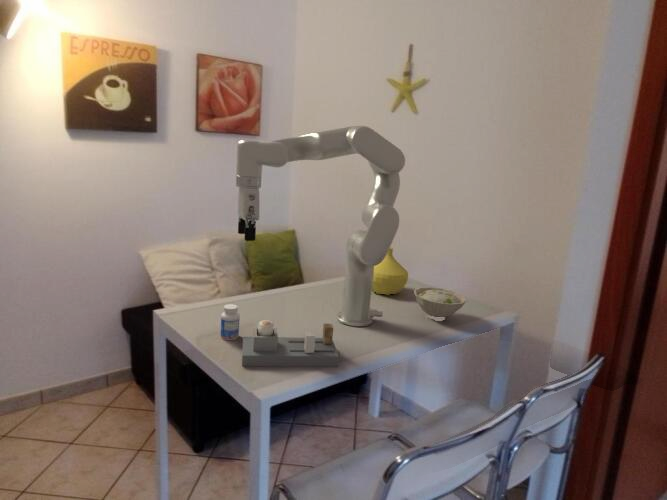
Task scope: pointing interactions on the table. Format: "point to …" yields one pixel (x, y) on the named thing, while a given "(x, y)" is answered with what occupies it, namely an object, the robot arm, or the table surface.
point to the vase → (389, 276)
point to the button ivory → (265, 328)
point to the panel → (286, 351)
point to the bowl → (439, 301)
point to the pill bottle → (230, 322)
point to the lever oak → (327, 333)
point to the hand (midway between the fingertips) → (246, 236)
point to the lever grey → (309, 342)
